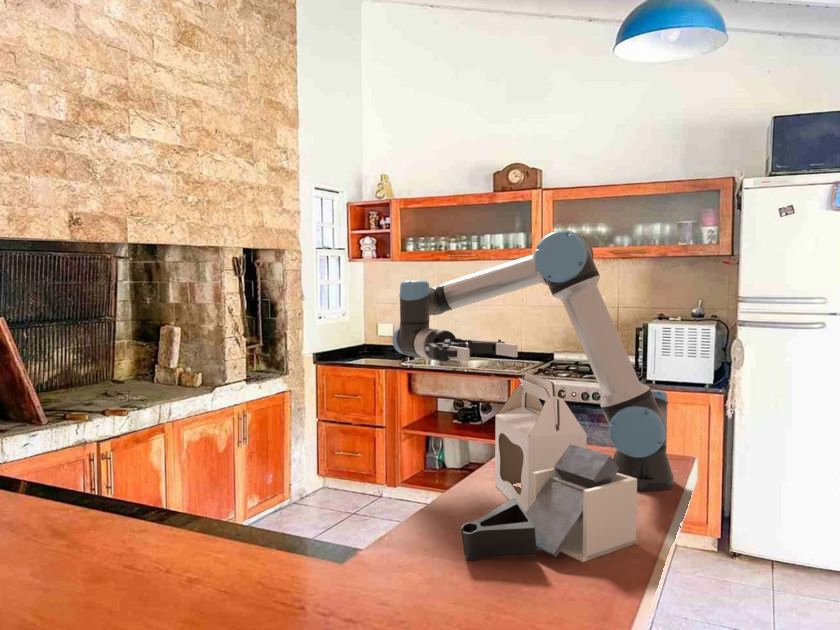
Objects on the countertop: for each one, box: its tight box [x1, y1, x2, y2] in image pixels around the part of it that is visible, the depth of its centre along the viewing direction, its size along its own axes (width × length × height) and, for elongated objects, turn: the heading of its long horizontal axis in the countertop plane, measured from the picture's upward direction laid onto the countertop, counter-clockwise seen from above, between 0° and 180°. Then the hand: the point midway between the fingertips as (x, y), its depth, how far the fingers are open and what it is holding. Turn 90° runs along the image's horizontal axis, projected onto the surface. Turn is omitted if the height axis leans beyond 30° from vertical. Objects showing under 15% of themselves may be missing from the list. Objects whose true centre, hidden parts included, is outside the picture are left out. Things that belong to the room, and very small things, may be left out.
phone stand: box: [460, 498, 538, 562], centre depth 118 cm, size 9×6×12 cm
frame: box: [532, 468, 638, 563], centre depth 126 cm, size 14×14×12 cm
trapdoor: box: [526, 444, 619, 558], centre depth 123 cm, size 21×11×4 cm
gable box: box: [494, 372, 588, 513], centre depth 149 cm, size 22×13×28 cm, turn 12°
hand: (493, 353), depth 143 cm, fingers open, 13 cm apart
